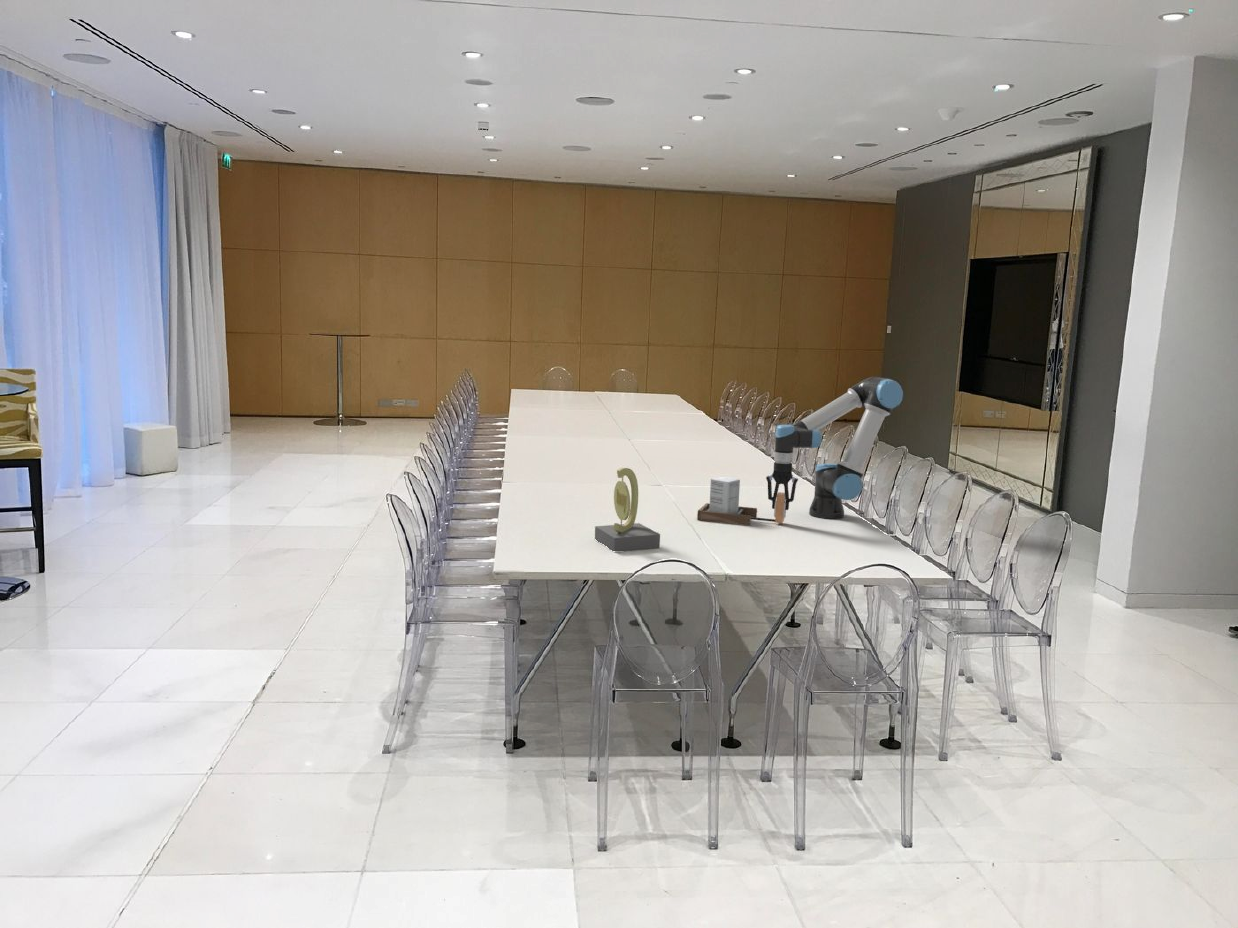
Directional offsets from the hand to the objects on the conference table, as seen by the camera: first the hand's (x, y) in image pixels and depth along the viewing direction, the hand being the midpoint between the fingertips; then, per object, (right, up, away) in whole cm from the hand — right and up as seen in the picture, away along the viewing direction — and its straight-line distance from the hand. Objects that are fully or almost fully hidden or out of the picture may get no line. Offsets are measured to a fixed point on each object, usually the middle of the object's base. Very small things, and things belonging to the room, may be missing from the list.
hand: (779, 516), depth 420 cm
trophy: (-65, -9, -41) cm, 77 cm away
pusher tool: (-14, -1, +5) cm, 15 cm away
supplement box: (-23, -1, +8) cm, 24 cm away
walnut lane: (-21, -1, +7) cm, 23 cm away
